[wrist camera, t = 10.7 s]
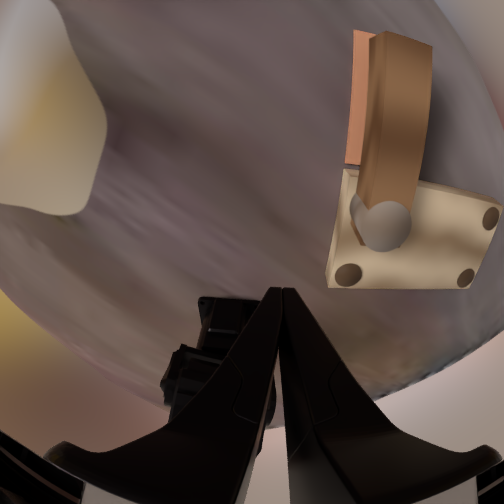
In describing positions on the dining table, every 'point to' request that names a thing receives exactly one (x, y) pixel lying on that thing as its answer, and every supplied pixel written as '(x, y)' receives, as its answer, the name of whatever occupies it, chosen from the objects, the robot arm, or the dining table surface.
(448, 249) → the birch seat
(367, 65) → the marker strip
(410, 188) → the walnut leg
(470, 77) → the dining table surface
